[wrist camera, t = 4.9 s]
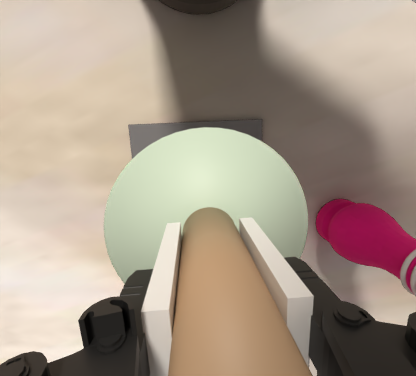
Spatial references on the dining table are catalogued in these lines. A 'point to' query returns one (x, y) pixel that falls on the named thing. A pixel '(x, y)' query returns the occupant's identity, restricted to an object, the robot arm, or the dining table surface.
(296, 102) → the dining table surface
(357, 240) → the pepper mill
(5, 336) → the dining table surface
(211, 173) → the plunger
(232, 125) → the mat
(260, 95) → the dining table surface
